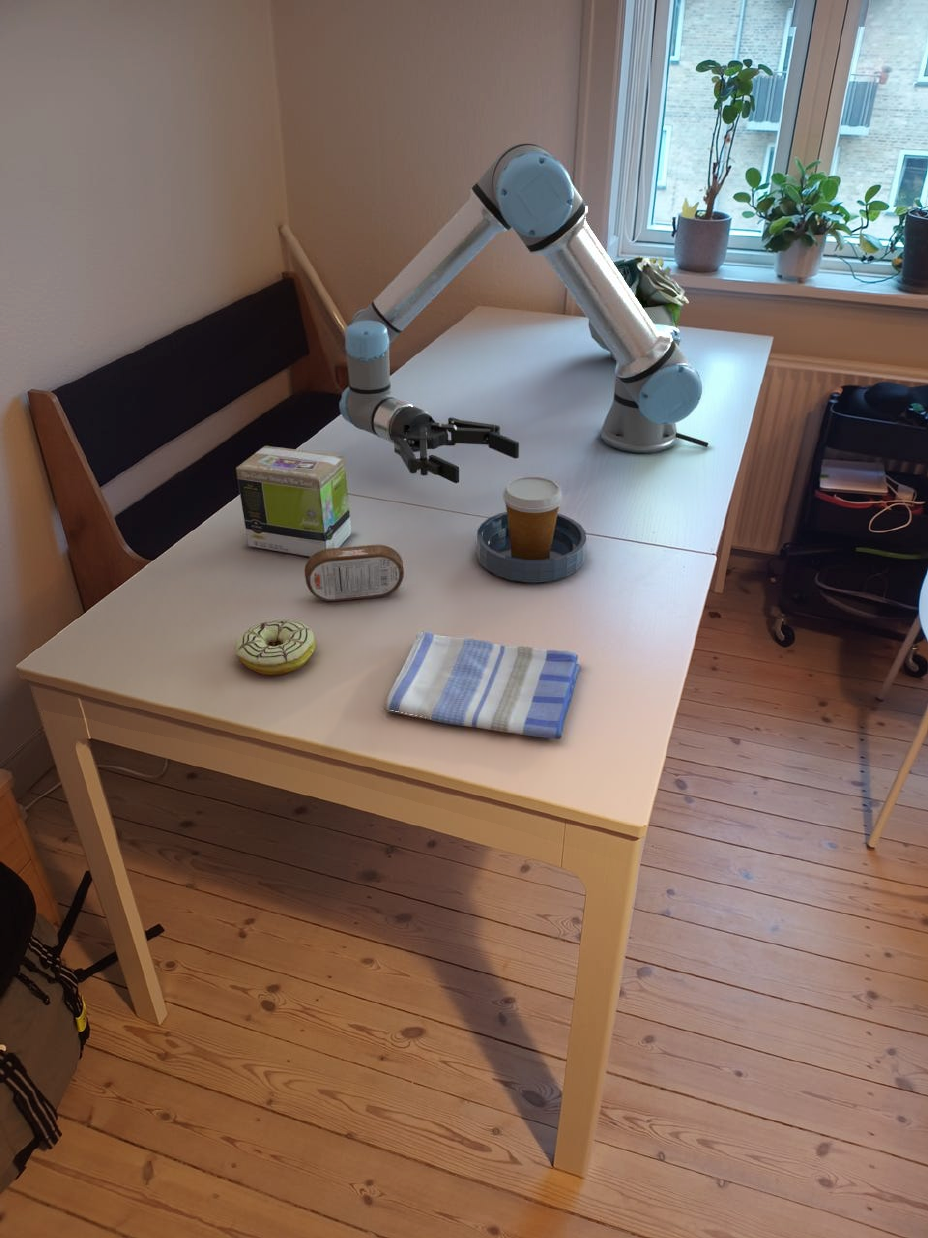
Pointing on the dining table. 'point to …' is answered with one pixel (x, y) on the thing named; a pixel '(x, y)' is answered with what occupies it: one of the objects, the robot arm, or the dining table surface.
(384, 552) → the tin
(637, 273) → the flower arrangement
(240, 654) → the decorated donut
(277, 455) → the tea box
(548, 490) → the disposable coffee cup
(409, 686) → the dish towel
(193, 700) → the dining table surface
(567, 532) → the bowl
